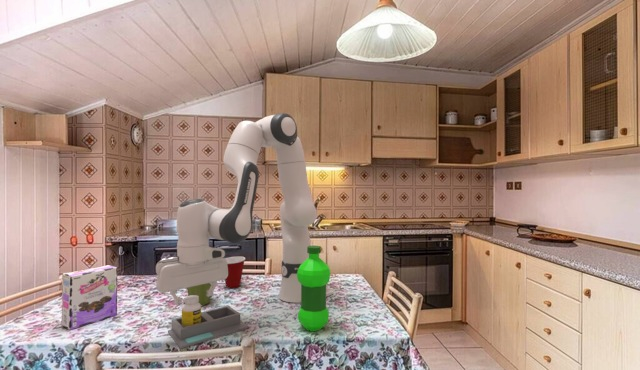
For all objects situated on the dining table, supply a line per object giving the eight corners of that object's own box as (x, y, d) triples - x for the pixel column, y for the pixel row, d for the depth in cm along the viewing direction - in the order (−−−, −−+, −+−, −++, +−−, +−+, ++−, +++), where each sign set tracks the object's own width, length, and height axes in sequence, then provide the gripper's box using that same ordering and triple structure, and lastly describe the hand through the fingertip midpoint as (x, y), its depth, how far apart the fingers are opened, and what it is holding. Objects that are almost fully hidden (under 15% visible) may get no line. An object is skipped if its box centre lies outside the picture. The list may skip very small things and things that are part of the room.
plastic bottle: (330, 320, 107) (330, 244, 107) (329, 335, 96) (329, 250, 96) (299, 319, 107) (300, 243, 107) (295, 334, 97) (295, 249, 97)
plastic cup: (217, 284, 145) (218, 257, 145) (242, 281, 149) (242, 255, 149) (221, 291, 135) (221, 262, 135) (247, 288, 140) (247, 260, 140)
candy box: (69, 330, 99) (69, 276, 98) (61, 326, 102) (61, 273, 102) (117, 315, 110) (118, 266, 110) (108, 311, 113) (109, 264, 113)
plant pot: (223, 301, 124) (223, 271, 124) (195, 311, 114) (195, 279, 114) (203, 295, 131) (203, 267, 130) (175, 304, 121) (176, 273, 121)
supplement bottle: (194, 334, 95) (194, 301, 95) (177, 333, 96) (177, 299, 96) (204, 327, 100) (204, 294, 100) (188, 325, 101) (188, 293, 101)
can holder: (231, 315, 111) (231, 304, 111) (248, 328, 101) (248, 316, 101) (167, 332, 98) (167, 320, 98) (180, 348, 88) (180, 335, 88)
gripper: (158, 261, 89) (159, 312, 89) (229, 250, 102) (230, 294, 102) (152, 258, 93) (153, 306, 94) (221, 247, 107) (222, 290, 107)
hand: (194, 300), depth 98 cm, fingers open, 8 cm apart
